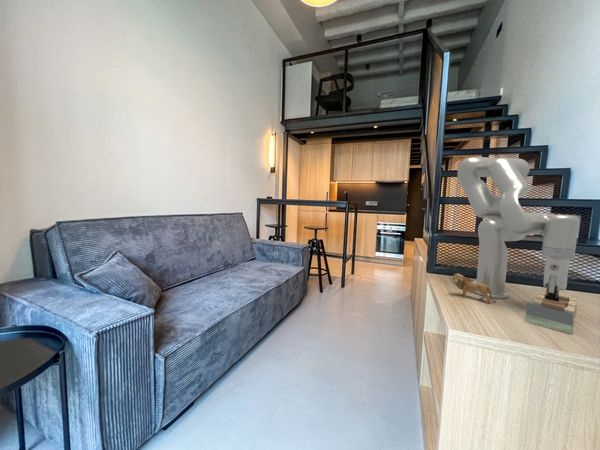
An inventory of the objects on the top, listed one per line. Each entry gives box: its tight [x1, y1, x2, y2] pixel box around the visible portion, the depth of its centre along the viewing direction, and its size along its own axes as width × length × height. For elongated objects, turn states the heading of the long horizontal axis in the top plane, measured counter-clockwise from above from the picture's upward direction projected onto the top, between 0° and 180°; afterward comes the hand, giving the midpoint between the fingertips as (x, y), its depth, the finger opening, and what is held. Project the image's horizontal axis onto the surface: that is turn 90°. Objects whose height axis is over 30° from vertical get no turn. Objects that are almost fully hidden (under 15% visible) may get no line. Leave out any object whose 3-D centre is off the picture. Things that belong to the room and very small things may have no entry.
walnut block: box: [541, 298, 565, 311], centre depth 79 cm, size 5×5×4 cm
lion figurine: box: [451, 273, 497, 305], centre depth 100 cm, size 15×5×9 cm, turn 53°
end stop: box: [525, 301, 575, 327], centre depth 78 cm, size 2×10×4 cm, turn 41°
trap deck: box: [524, 291, 577, 335], centre depth 89 cm, size 34×10×2 cm, turn 131°
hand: (550, 307), depth 85 cm, fingers closed
